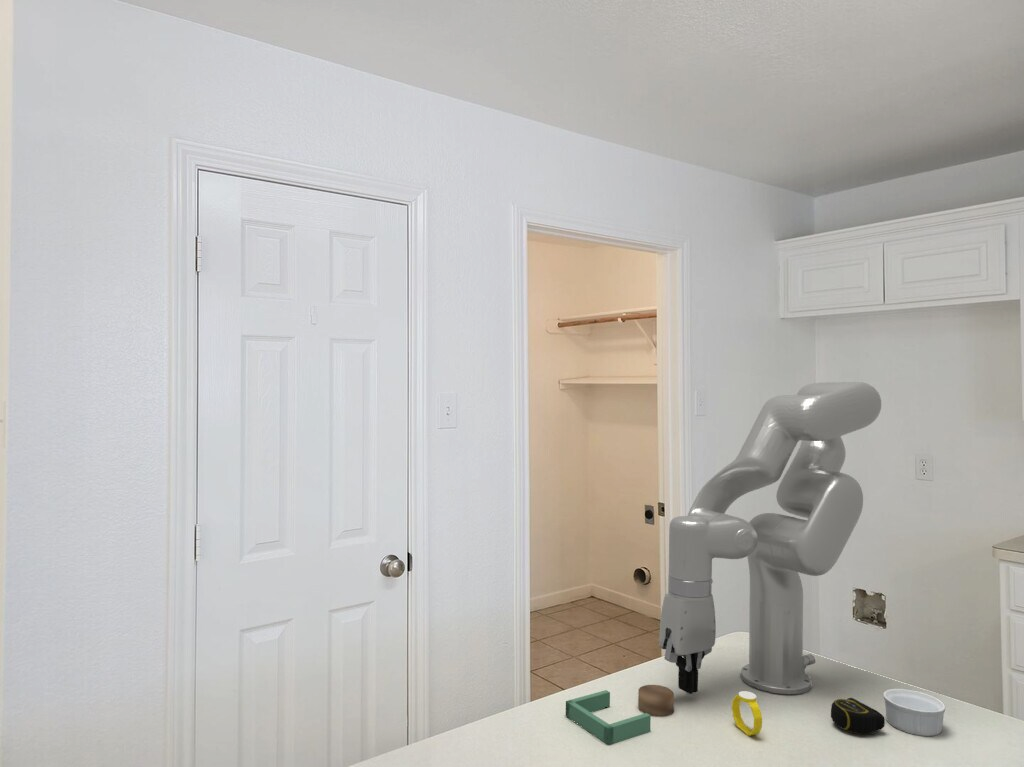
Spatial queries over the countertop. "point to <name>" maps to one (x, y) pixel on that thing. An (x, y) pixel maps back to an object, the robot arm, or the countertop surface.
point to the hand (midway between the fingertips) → (688, 690)
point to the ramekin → (914, 712)
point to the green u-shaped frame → (606, 732)
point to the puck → (656, 700)
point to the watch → (751, 700)
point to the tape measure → (856, 716)
